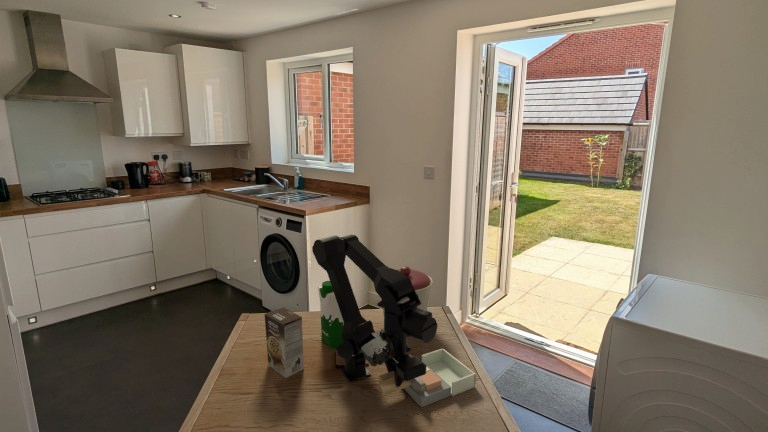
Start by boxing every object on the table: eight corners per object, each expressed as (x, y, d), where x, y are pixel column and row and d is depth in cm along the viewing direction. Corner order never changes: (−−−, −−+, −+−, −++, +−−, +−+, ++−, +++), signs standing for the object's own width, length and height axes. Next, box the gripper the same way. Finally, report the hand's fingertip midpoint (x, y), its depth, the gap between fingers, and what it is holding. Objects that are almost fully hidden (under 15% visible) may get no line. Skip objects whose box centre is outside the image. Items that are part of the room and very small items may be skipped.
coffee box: (267, 365, 117) (263, 313, 114) (286, 356, 122) (283, 305, 118) (285, 379, 111) (282, 324, 108) (305, 368, 116) (302, 316, 112)
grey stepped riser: (394, 378, 112) (394, 370, 111) (421, 369, 116) (422, 361, 115) (421, 407, 101) (421, 398, 100) (450, 395, 105) (451, 386, 104)
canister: (438, 336, 133) (441, 274, 128) (384, 342, 130) (384, 279, 125) (422, 311, 150) (423, 256, 146) (373, 315, 147) (373, 259, 142)
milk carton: (317, 339, 131) (315, 280, 127) (342, 331, 136) (341, 274, 132) (330, 351, 124) (328, 289, 120) (356, 342, 129) (355, 283, 125)
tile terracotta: (416, 380, 107) (416, 375, 106) (431, 375, 109) (431, 370, 108) (426, 390, 103) (426, 385, 102) (441, 385, 105) (441, 380, 105)
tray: (421, 367, 116) (421, 355, 115) (442, 360, 120) (442, 348, 119) (452, 396, 104) (453, 382, 104) (474, 387, 108) (475, 373, 107)
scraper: (370, 380, 107) (370, 366, 106) (401, 370, 111) (401, 357, 110) (392, 405, 97) (392, 391, 96) (424, 393, 102) (425, 379, 101)
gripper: (349, 318, 104) (350, 373, 108) (385, 354, 88) (385, 417, 92) (387, 308, 109) (387, 361, 113) (428, 341, 93) (426, 401, 97)
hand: (395, 383), depth 104 cm, fingers closed on scraper, 2 cm apart
